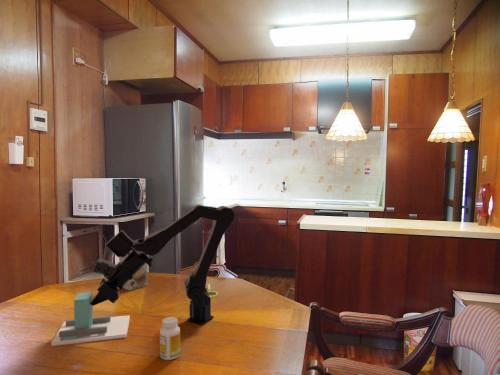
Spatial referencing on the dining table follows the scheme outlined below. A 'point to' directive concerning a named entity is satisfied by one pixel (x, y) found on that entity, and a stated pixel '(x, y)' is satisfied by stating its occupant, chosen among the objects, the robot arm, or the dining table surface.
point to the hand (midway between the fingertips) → (91, 304)
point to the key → (211, 291)
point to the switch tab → (83, 310)
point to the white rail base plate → (93, 330)
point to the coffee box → (137, 277)
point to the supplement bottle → (169, 339)
